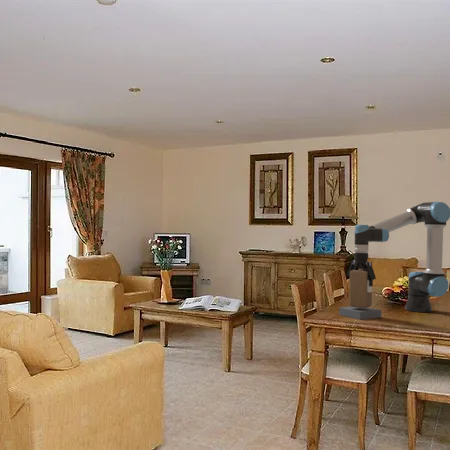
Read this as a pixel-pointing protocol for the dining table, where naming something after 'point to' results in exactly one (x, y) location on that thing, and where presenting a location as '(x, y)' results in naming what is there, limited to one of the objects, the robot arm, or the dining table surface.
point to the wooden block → (359, 289)
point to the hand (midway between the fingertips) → (360, 290)
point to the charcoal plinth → (360, 312)
